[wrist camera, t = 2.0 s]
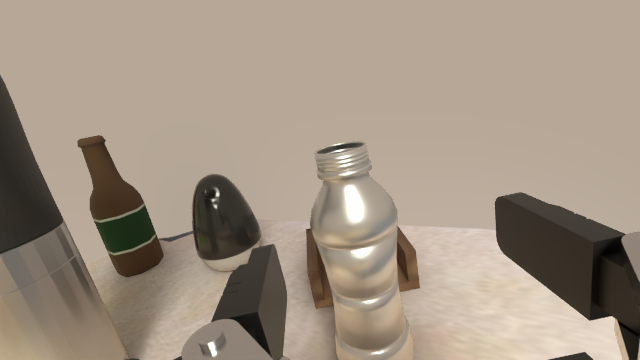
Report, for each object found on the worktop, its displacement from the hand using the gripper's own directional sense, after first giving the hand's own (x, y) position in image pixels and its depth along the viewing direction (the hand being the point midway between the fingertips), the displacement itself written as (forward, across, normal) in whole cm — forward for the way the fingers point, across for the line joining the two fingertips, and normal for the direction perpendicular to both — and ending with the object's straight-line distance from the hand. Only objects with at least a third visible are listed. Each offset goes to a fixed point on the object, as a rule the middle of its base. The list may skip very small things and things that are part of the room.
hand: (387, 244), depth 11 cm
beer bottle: (+42, +37, +18) cm, 59 cm away
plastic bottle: (+12, 0, +18) cm, 22 cm away
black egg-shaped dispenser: (+36, +18, +18) cm, 44 cm away
